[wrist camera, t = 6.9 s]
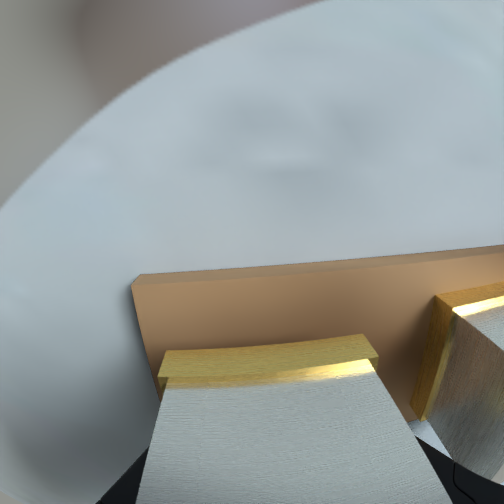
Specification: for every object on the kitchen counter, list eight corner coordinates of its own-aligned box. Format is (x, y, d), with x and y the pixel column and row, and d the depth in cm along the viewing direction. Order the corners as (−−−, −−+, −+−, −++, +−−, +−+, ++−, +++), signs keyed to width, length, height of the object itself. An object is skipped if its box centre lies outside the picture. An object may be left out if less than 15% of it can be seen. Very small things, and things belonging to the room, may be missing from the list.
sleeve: (343, 451, 10) (387, 582, 4) (198, 465, 9) (188, 605, 4) (362, 333, 8) (476, 509, 2) (166, 350, 8) (105, 558, 2)
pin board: (478, 382, 13) (526, 436, 8) (180, 436, 12) (166, 527, 7) (513, 243, 11) (592, 278, 6) (139, 274, 10) (73, 358, 5)
